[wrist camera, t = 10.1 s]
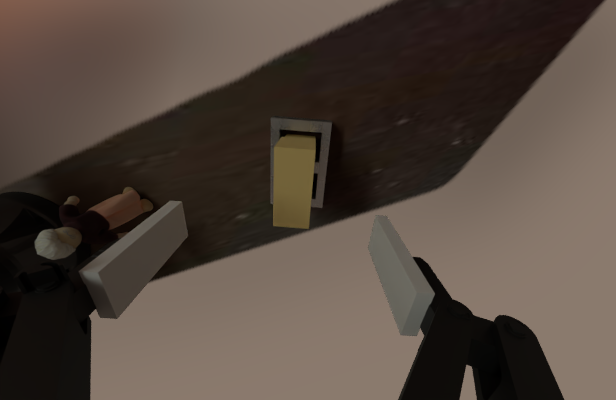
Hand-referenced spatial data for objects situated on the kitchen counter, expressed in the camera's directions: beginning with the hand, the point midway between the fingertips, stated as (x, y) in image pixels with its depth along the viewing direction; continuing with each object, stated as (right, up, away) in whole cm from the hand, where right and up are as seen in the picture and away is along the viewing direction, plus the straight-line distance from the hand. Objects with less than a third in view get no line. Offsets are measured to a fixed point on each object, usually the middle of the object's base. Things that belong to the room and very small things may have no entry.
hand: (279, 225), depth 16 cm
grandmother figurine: (-24, +2, +18) cm, 30 cm away
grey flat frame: (+1, +7, +15) cm, 16 cm away
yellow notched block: (+1, +7, +15) cm, 16 cm away
